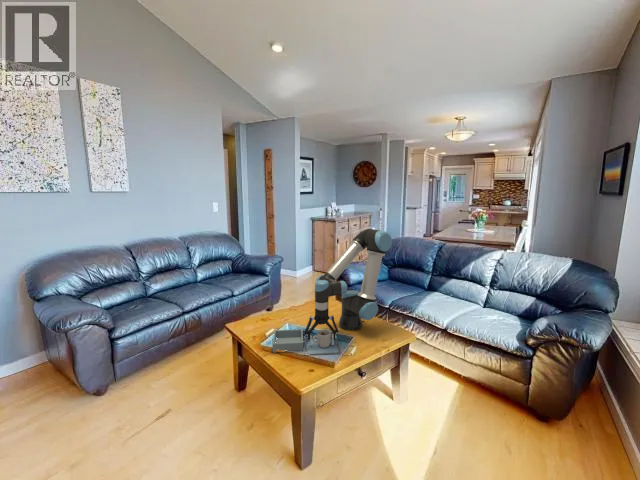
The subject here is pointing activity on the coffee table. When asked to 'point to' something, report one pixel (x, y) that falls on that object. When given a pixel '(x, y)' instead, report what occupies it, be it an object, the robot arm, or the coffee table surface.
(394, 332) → the coffee table surface
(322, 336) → the cup
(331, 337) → the square tray frame
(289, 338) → the bin
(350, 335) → the coffee table surface
